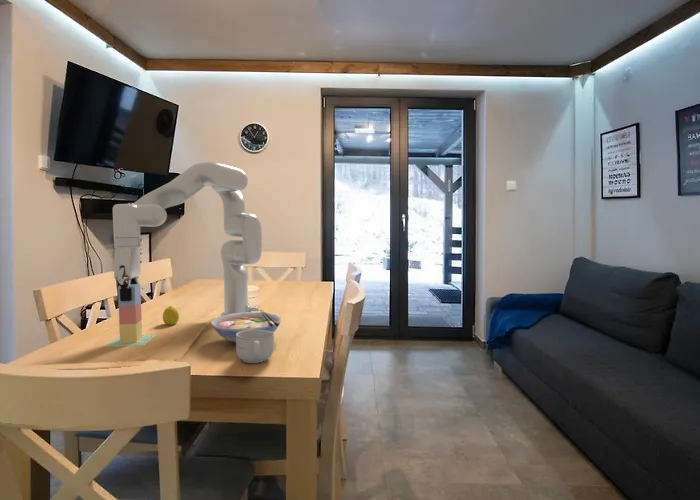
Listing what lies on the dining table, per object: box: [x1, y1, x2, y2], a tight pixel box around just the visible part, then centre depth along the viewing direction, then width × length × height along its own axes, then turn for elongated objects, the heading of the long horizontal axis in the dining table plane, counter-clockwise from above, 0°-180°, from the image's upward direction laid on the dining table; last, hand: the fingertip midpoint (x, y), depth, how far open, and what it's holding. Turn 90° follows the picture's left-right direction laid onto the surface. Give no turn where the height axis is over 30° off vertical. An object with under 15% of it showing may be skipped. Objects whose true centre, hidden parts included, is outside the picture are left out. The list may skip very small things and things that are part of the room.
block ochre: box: [118, 320, 143, 343], centre depth 136 cm, size 5×5×6 cm
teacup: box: [235, 330, 275, 364], centre depth 119 cm, size 14×11×8 cm
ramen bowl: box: [210, 308, 282, 343], centre depth 139 cm, size 25×23×8 cm
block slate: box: [117, 283, 142, 307], centre depth 135 cm, size 5×5×6 cm
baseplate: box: [103, 333, 157, 348], centre depth 136 cm, size 12×12×1 cm
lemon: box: [162, 305, 180, 326], centre depth 156 cm, size 6×6×8 cm
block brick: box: [118, 301, 143, 325], centre depth 135 cm, size 5×5×6 cm
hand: (129, 298), depth 135 cm, fingers open, 5 cm apart
